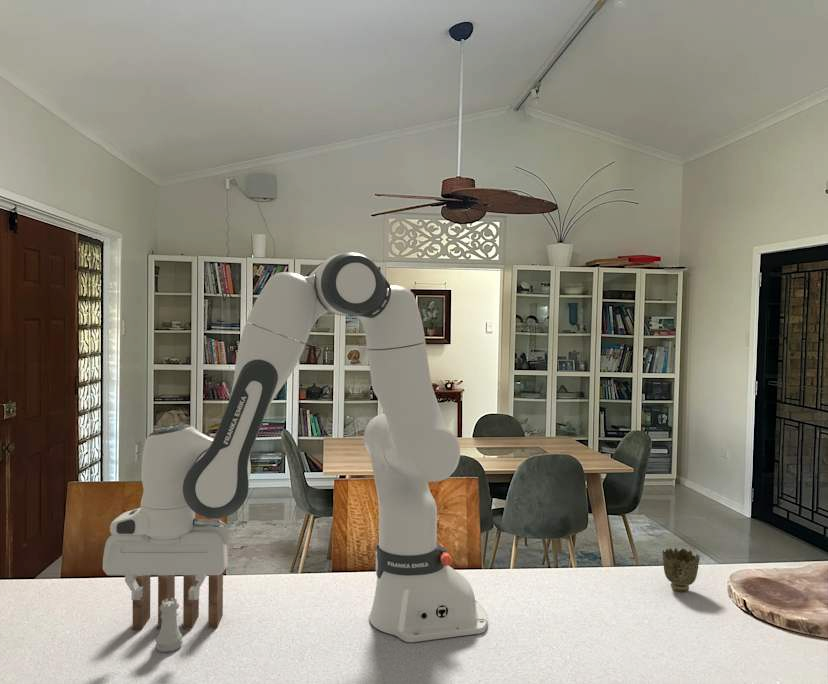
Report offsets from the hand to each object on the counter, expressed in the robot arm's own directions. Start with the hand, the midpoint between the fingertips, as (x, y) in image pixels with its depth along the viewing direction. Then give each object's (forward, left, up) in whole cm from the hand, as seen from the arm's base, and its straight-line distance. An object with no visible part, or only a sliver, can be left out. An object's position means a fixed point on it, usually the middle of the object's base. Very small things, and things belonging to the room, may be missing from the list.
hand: (165, 598), depth 111 cm
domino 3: (-2, -9, -9) cm, 13 cm away
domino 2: (+2, -9, -9) cm, 13 cm away
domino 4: (-7, -9, -9) cm, 14 cm away
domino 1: (+7, -9, -9) cm, 14 cm away
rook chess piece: (-1, 0, -9) cm, 9 cm away
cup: (-103, -18, -9) cm, 104 cm away
